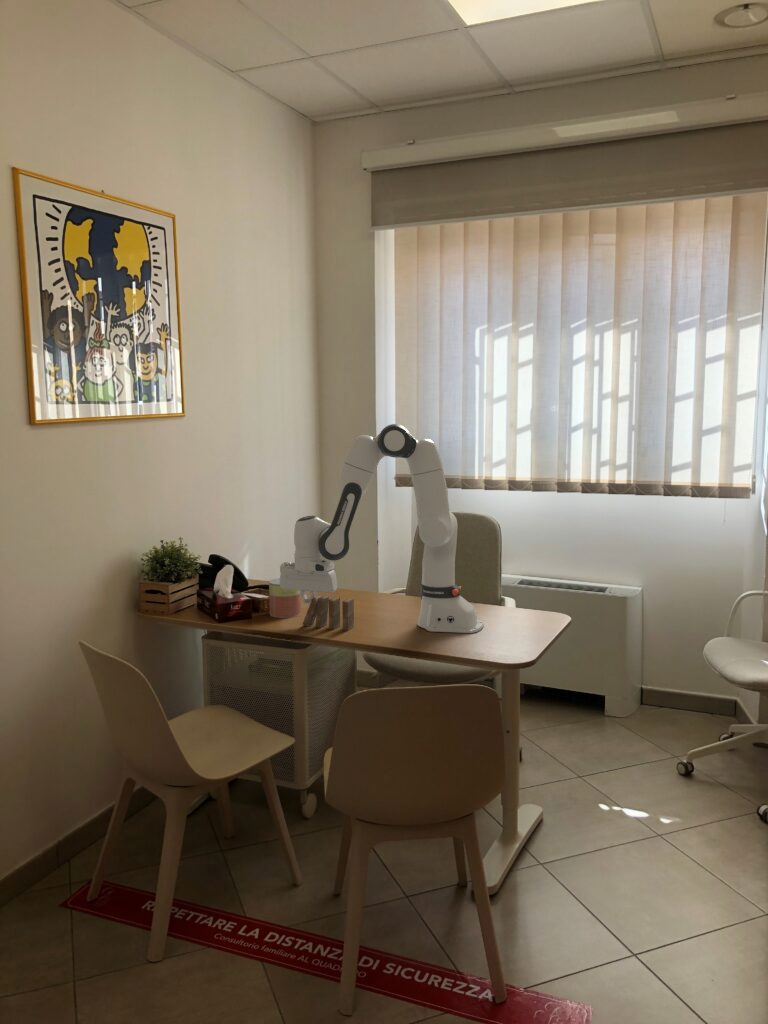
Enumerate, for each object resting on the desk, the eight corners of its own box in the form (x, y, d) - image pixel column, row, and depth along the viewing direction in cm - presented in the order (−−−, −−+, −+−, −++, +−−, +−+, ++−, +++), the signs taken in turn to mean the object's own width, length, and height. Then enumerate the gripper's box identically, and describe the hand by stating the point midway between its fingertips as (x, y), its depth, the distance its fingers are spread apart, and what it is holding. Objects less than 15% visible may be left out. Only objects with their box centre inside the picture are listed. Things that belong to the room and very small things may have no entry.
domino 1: (313, 623, 296) (323, 598, 293) (307, 627, 291) (317, 601, 289) (308, 620, 296) (318, 595, 294) (302, 624, 292) (312, 598, 289)
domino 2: (326, 624, 294) (329, 596, 292) (320, 628, 289) (323, 599, 288) (321, 623, 295) (323, 595, 293) (315, 627, 290) (317, 598, 288)
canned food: (303, 610, 314) (303, 578, 312) (297, 618, 303) (297, 584, 301) (273, 609, 315) (272, 577, 313) (266, 617, 304) (265, 584, 302)
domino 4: (353, 627, 291) (353, 598, 289) (348, 631, 286) (347, 601, 285) (348, 626, 291) (348, 597, 290) (342, 630, 287) (342, 601, 285)
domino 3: (340, 625, 292) (340, 597, 291) (334, 629, 288) (334, 600, 286) (334, 625, 293) (334, 596, 292) (328, 629, 288) (328, 600, 287)
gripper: (275, 563, 291) (276, 603, 293) (331, 567, 285) (331, 608, 286) (284, 560, 297) (285, 599, 299) (338, 563, 290) (339, 603, 292)
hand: (308, 603), depth 293 cm, fingers closed
